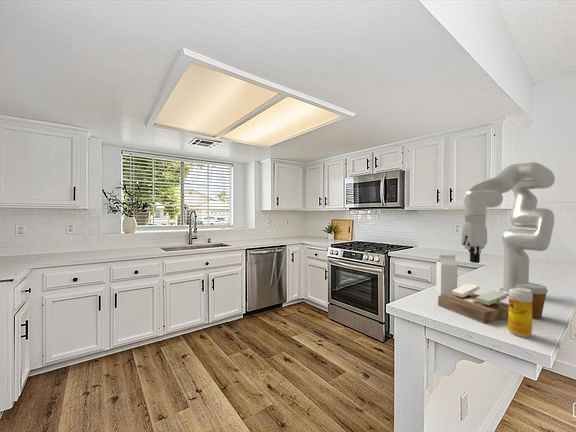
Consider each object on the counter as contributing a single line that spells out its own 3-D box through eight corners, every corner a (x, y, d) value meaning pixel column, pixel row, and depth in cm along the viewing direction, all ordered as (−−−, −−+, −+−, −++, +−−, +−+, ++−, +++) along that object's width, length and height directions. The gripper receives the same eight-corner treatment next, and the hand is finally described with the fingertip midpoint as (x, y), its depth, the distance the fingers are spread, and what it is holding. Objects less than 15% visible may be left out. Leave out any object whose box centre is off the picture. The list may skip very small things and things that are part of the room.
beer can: (503, 330, 98) (504, 286, 97) (519, 329, 98) (521, 286, 98) (519, 338, 92) (520, 292, 91) (536, 337, 92) (537, 291, 92)
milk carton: (457, 296, 134) (457, 256, 133) (440, 295, 136) (441, 256, 135) (451, 292, 141) (452, 254, 140) (436, 291, 142) (436, 253, 142)
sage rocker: (494, 296, 116) (493, 290, 115) (507, 300, 111) (506, 294, 111) (476, 303, 112) (476, 297, 112) (489, 307, 108) (488, 301, 107)
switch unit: (468, 300, 128) (469, 290, 128) (517, 317, 109) (517, 304, 109) (438, 305, 122) (438, 294, 122) (483, 323, 103) (484, 310, 103)
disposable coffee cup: (515, 309, 117) (515, 280, 117) (546, 315, 111) (547, 284, 111) (514, 316, 110) (515, 285, 110) (547, 322, 104) (549, 290, 104)
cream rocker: (469, 288, 126) (468, 282, 126) (480, 291, 121) (479, 285, 121) (452, 296, 123) (451, 290, 123) (463, 299, 118) (462, 294, 118)
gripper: (478, 218, 127) (478, 259, 128) (454, 219, 122) (454, 262, 123) (496, 219, 120) (495, 262, 121) (471, 220, 115) (470, 265, 116)
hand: (474, 262), depth 122 cm, fingers closed
